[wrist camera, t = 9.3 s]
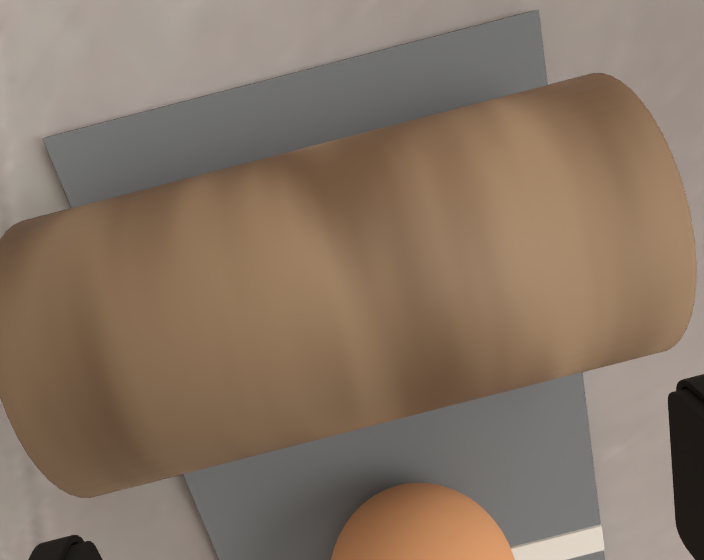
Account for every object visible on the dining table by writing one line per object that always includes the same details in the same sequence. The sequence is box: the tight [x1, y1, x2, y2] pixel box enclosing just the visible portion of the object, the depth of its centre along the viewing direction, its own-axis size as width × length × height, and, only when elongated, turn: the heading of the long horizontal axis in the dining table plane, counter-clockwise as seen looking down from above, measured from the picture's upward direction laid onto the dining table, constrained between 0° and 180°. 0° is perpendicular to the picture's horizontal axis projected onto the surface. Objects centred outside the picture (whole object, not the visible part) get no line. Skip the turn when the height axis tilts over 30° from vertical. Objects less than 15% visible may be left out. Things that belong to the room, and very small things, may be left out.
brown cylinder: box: [0, 73, 696, 498], centre depth 16 cm, size 14×7×7 cm, turn 104°
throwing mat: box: [43, 10, 605, 560], centre depth 23 cm, size 14×29×1 cm, turn 14°
